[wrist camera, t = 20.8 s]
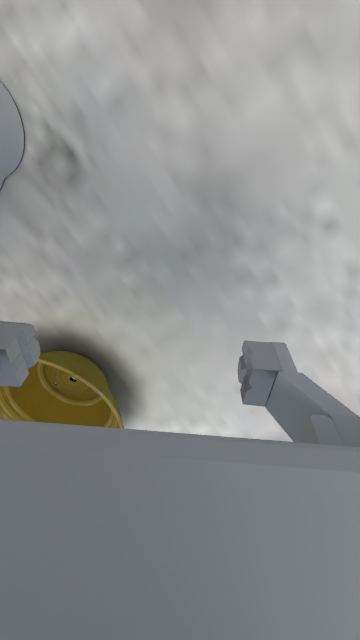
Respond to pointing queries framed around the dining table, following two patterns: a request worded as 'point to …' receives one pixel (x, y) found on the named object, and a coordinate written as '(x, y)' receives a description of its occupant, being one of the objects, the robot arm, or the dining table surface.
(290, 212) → the dining table surface
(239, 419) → the dining table surface
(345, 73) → the dining table surface
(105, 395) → the planter bowl
